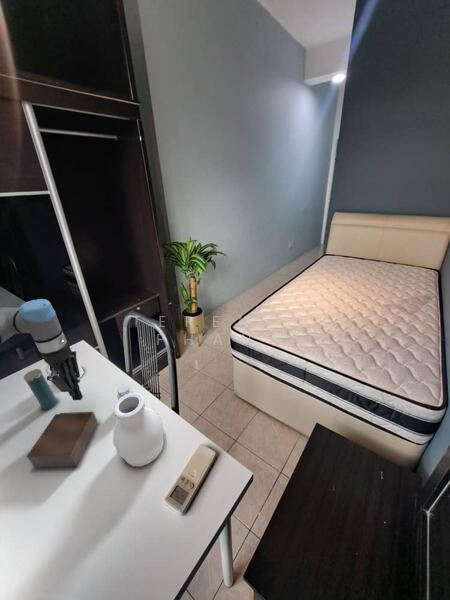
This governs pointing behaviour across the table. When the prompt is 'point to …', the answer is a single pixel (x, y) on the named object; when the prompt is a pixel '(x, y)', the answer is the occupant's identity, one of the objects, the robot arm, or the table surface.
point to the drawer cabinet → (63, 441)
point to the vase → (137, 430)
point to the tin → (40, 389)
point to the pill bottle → (123, 390)
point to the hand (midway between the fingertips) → (78, 398)
